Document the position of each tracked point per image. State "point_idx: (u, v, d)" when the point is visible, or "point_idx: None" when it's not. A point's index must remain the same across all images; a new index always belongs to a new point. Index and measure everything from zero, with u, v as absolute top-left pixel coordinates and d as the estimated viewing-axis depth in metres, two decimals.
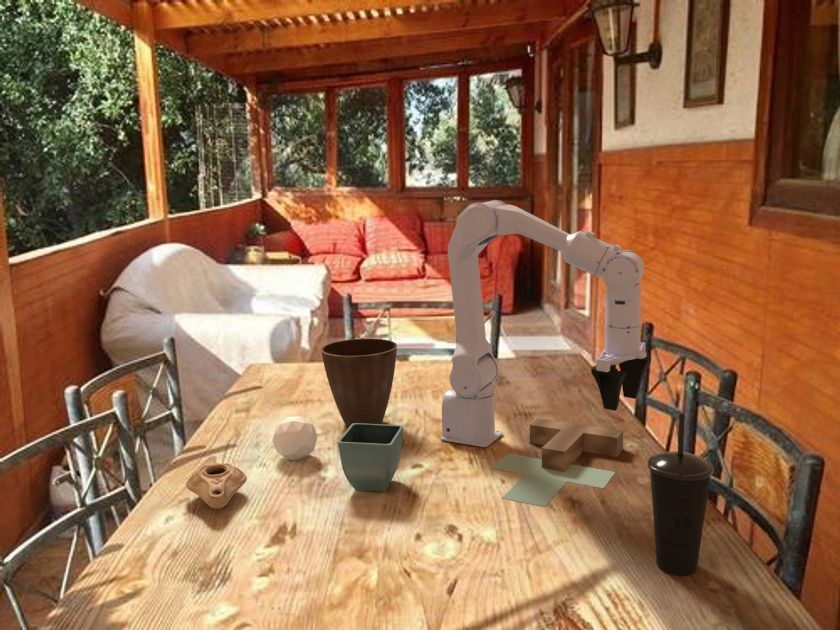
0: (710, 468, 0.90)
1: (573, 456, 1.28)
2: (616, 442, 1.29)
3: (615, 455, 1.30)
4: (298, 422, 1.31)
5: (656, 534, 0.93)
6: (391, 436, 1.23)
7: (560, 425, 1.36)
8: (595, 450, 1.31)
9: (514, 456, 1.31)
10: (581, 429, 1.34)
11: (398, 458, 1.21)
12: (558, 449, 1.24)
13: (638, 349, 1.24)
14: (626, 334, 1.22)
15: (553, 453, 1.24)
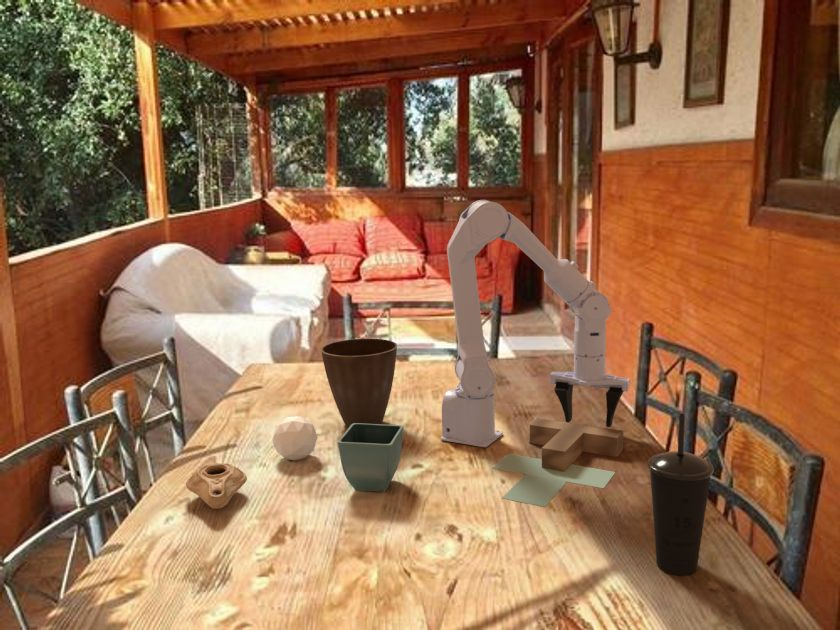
0: (710, 468, 0.90)
1: (573, 456, 1.28)
2: (616, 442, 1.29)
3: (615, 455, 1.30)
4: (298, 422, 1.31)
5: (656, 534, 0.93)
6: (391, 436, 1.23)
7: (560, 425, 1.36)
8: (595, 450, 1.31)
9: (514, 456, 1.31)
10: (581, 429, 1.34)
11: (398, 458, 1.21)
12: (558, 449, 1.24)
13: (586, 377, 1.37)
14: (575, 359, 1.39)
15: (553, 453, 1.24)
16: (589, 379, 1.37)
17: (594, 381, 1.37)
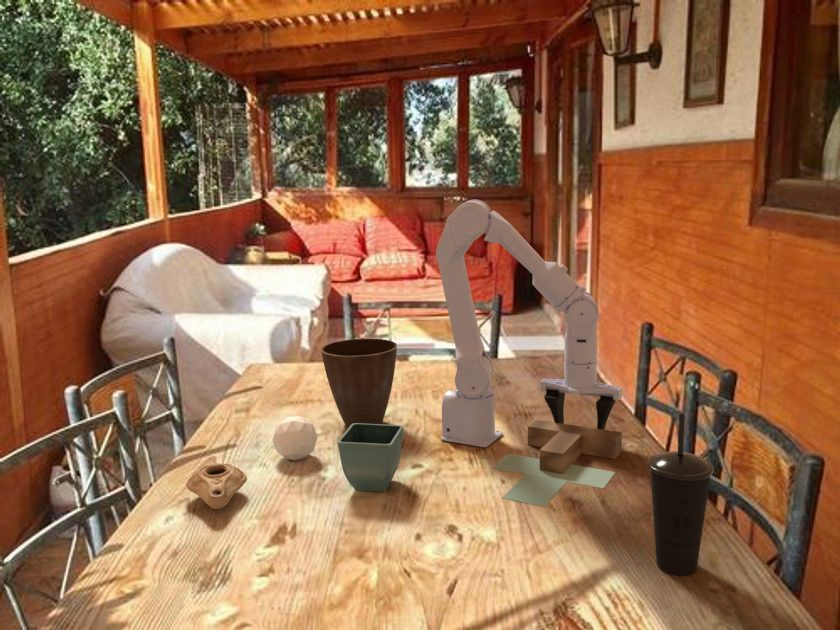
0: (710, 468, 0.90)
1: (571, 458, 1.27)
2: (615, 444, 1.28)
3: (614, 457, 1.29)
4: (298, 422, 1.31)
5: (656, 534, 0.93)
6: (391, 436, 1.23)
7: (558, 427, 1.35)
8: (593, 452, 1.30)
9: (514, 456, 1.31)
10: (579, 430, 1.33)
11: (398, 458, 1.21)
12: (556, 451, 1.23)
13: (576, 385, 1.33)
14: (565, 366, 1.34)
15: (550, 455, 1.24)
16: (579, 387, 1.32)
17: (584, 389, 1.32)
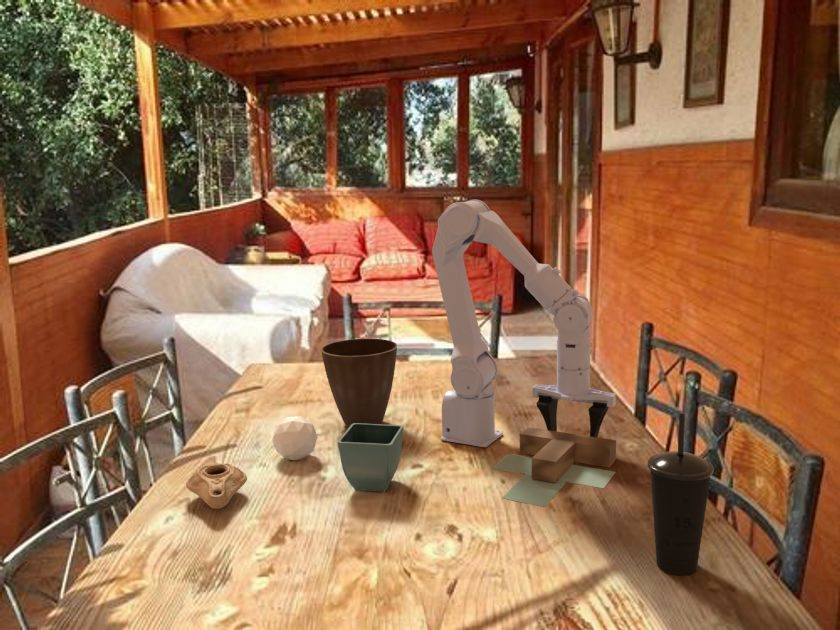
0: (710, 468, 0.90)
1: (564, 466, 1.23)
2: (609, 452, 1.25)
3: (608, 466, 1.25)
4: (298, 422, 1.31)
5: (656, 534, 0.93)
6: (391, 436, 1.23)
7: (551, 434, 1.31)
8: (587, 460, 1.27)
9: (514, 456, 1.31)
10: (572, 438, 1.29)
11: (398, 458, 1.21)
12: (548, 460, 1.20)
13: (569, 391, 1.29)
14: (557, 372, 1.31)
15: (543, 463, 1.20)
16: (571, 393, 1.29)
17: (577, 396, 1.29)
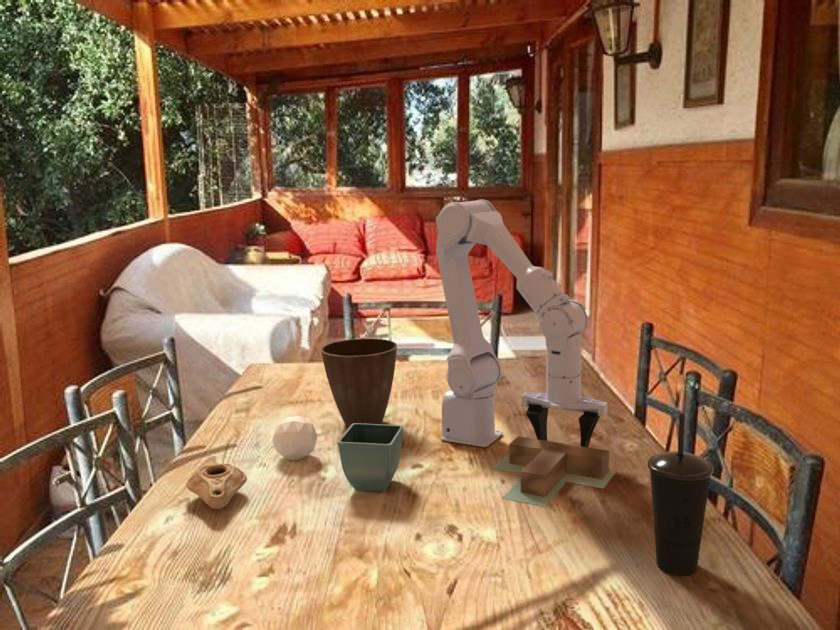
0: (710, 468, 0.90)
1: (554, 479, 1.18)
2: (601, 464, 1.20)
3: (600, 477, 1.21)
4: (298, 422, 1.31)
5: (656, 534, 0.93)
6: (391, 436, 1.23)
7: (542, 444, 1.27)
8: (579, 472, 1.22)
9: None
10: (564, 448, 1.25)
11: (398, 458, 1.21)
12: (538, 473, 1.15)
13: (559, 400, 1.24)
14: (547, 380, 1.26)
15: (532, 477, 1.15)
16: (561, 402, 1.24)
17: (567, 404, 1.24)
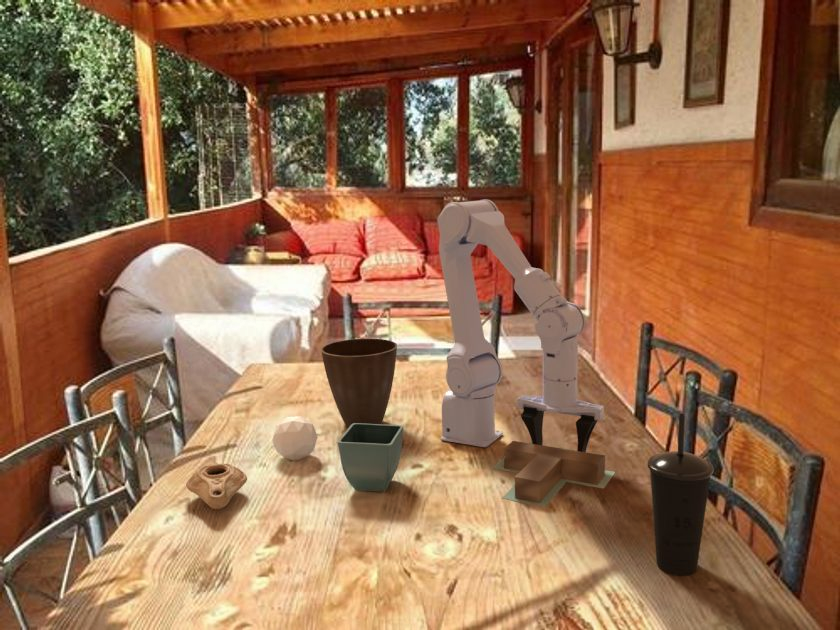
0: (710, 468, 0.90)
1: (549, 484, 1.16)
2: (597, 469, 1.18)
3: (596, 483, 1.19)
4: (298, 422, 1.31)
5: (656, 534, 0.93)
6: (391, 436, 1.23)
7: (537, 449, 1.25)
8: (574, 477, 1.20)
9: None
10: (559, 453, 1.23)
11: (398, 458, 1.21)
12: (532, 479, 1.13)
13: (555, 403, 1.23)
14: (543, 383, 1.25)
15: (526, 483, 1.13)
16: (557, 406, 1.23)
17: (563, 408, 1.23)
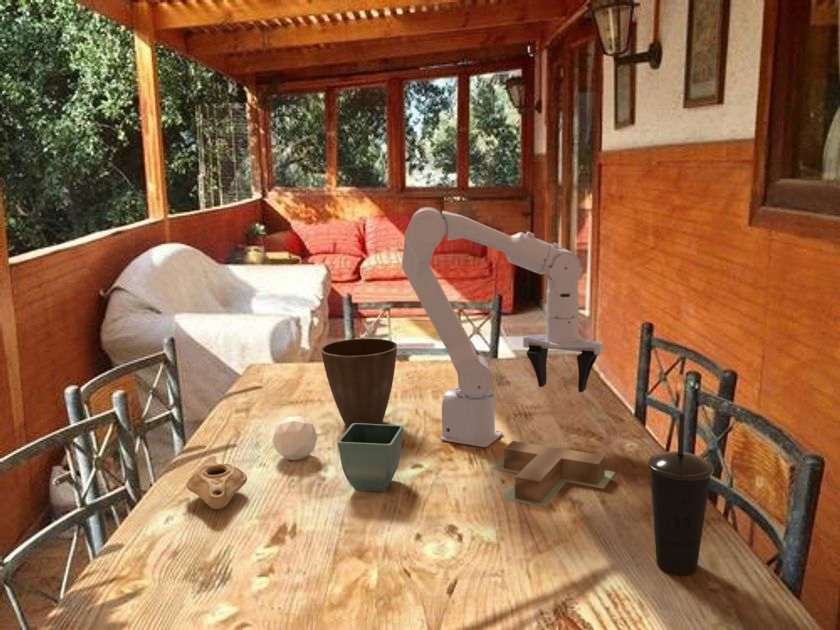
0: (710, 468, 0.90)
1: (549, 484, 1.16)
2: (597, 469, 1.18)
3: (596, 483, 1.19)
4: (298, 422, 1.31)
5: (656, 534, 0.93)
6: (391, 436, 1.23)
7: (537, 449, 1.25)
8: (574, 477, 1.20)
9: None
10: (559, 453, 1.23)
11: (398, 458, 1.21)
12: (532, 479, 1.13)
13: (558, 340, 1.34)
14: (547, 322, 1.35)
15: (526, 483, 1.13)
16: (560, 342, 1.34)
17: (565, 344, 1.34)
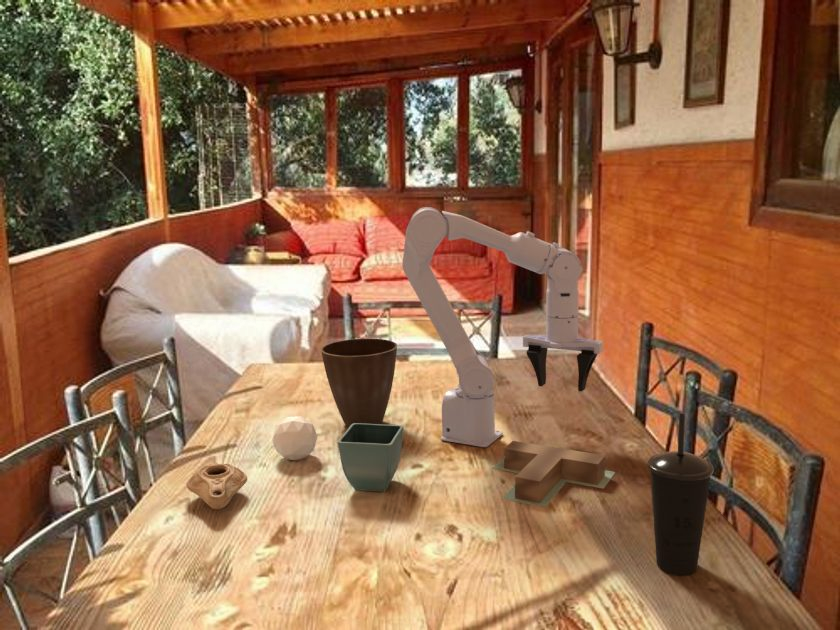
0: (710, 468, 0.90)
1: (549, 484, 1.16)
2: (597, 469, 1.18)
3: (596, 483, 1.19)
4: (298, 422, 1.31)
5: (656, 534, 0.93)
6: (391, 436, 1.23)
7: (537, 449, 1.25)
8: (574, 477, 1.20)
9: None
10: (559, 453, 1.23)
11: (398, 458, 1.21)
12: (532, 479, 1.13)
13: (557, 339, 1.34)
14: (547, 321, 1.36)
15: (526, 483, 1.13)
16: (560, 341, 1.34)
17: (565, 343, 1.34)
